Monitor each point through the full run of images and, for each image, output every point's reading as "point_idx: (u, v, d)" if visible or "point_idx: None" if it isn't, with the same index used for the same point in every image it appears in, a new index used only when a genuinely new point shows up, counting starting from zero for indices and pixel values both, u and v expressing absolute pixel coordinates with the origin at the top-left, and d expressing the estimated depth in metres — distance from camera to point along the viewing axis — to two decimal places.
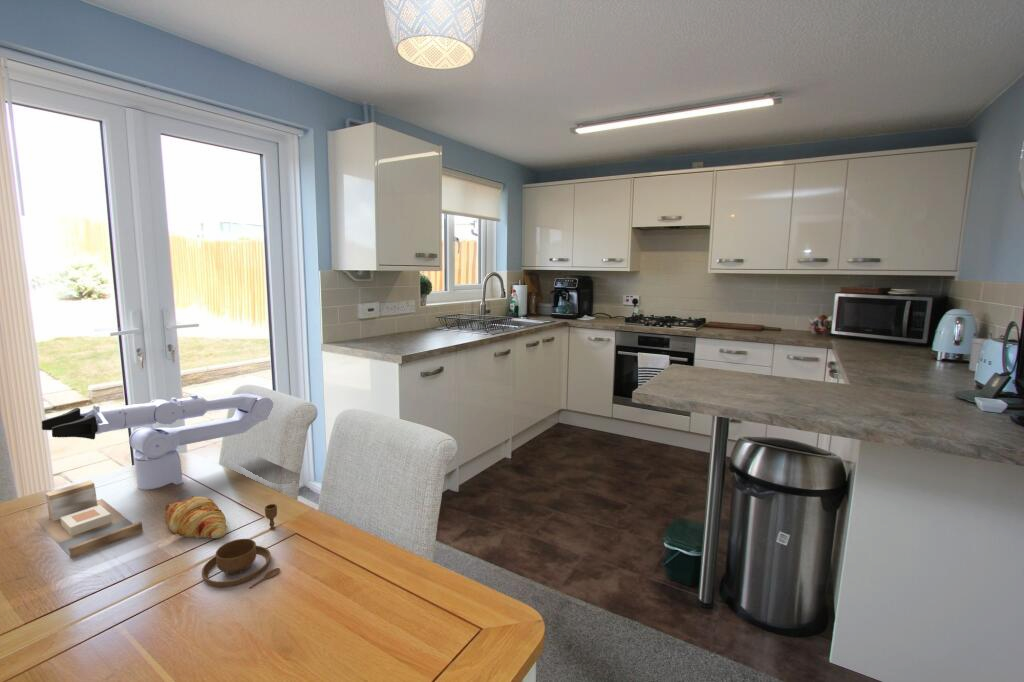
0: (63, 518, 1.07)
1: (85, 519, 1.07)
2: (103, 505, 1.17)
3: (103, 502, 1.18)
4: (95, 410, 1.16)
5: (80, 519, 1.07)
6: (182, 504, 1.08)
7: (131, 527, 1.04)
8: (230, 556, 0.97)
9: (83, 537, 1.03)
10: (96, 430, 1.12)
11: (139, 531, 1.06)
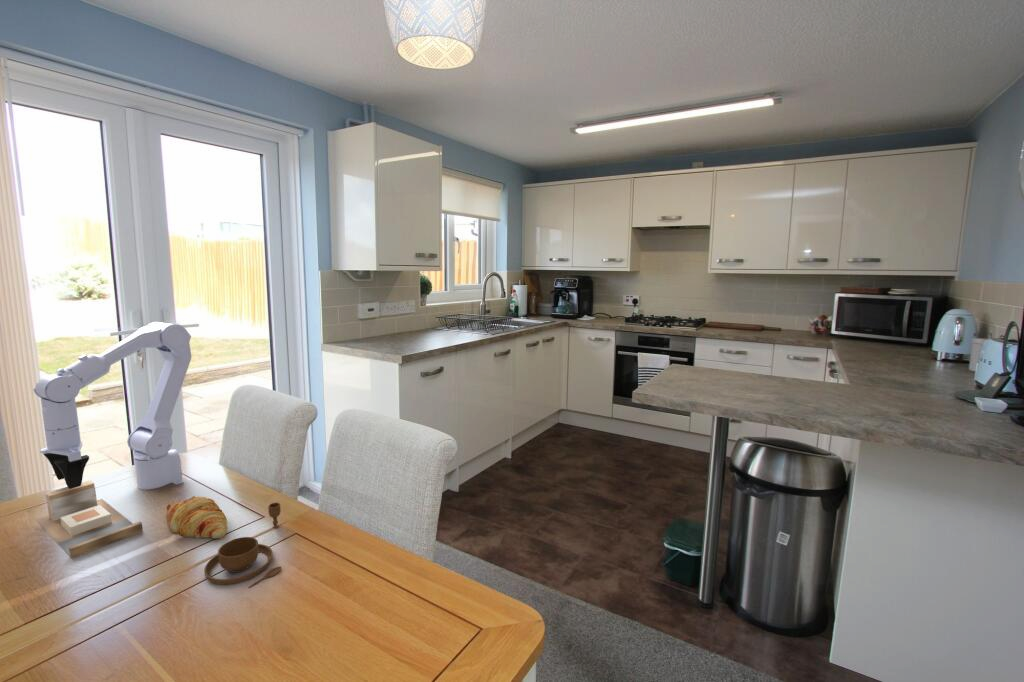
0: (63, 518, 1.07)
1: (85, 519, 1.07)
2: (103, 505, 1.17)
3: (103, 502, 1.18)
4: (48, 452, 1.08)
5: (80, 519, 1.07)
6: (183, 504, 1.08)
7: (131, 527, 1.04)
8: (233, 554, 0.98)
9: (83, 537, 1.03)
10: None
11: (139, 531, 1.06)
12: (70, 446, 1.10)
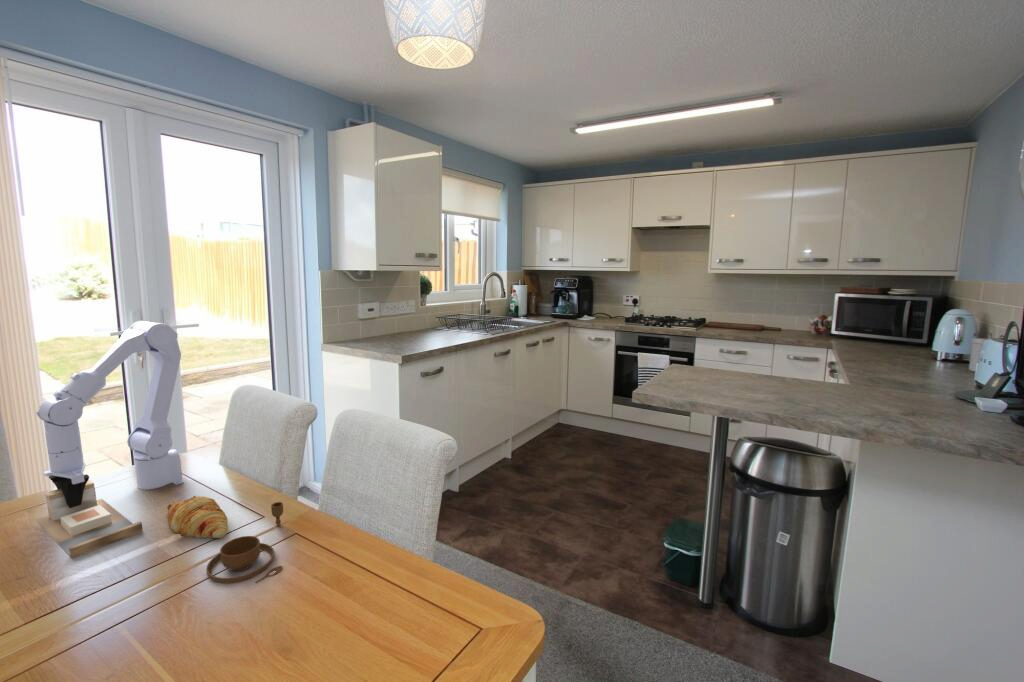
0: (63, 518, 1.07)
1: (85, 519, 1.07)
2: (103, 505, 1.17)
3: (103, 502, 1.18)
4: (51, 475, 1.09)
5: (80, 519, 1.07)
6: (184, 504, 1.08)
7: (131, 527, 1.04)
8: (235, 553, 0.99)
9: (83, 537, 1.03)
10: (80, 481, 1.09)
11: (139, 531, 1.06)
12: (73, 468, 1.10)
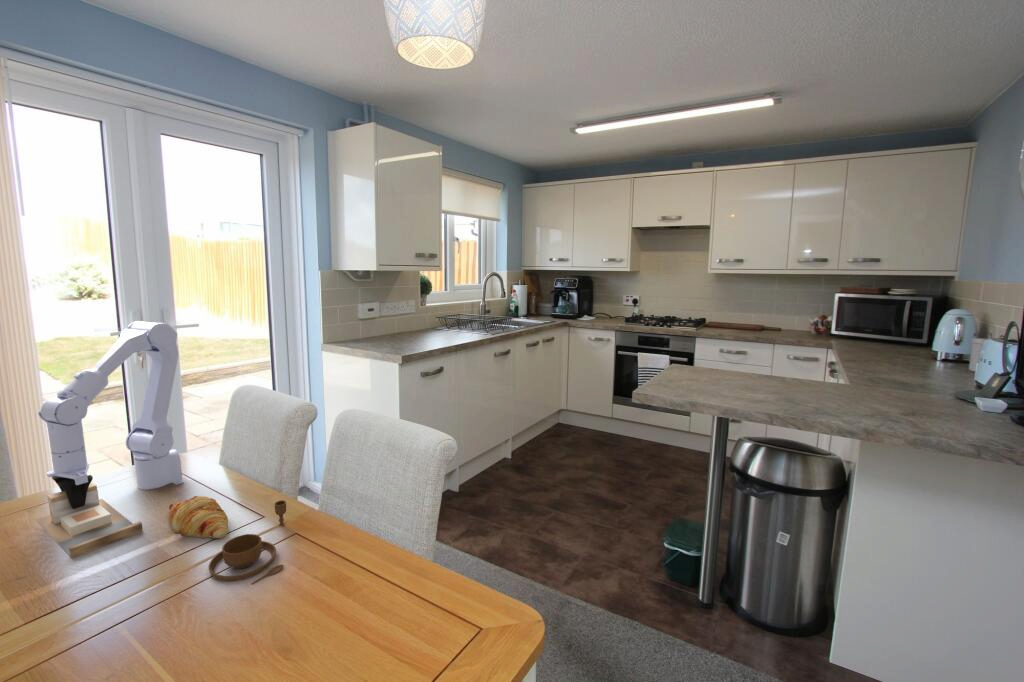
0: (63, 518, 1.07)
1: (85, 519, 1.07)
2: (103, 505, 1.17)
3: (103, 502, 1.18)
4: (55, 475, 1.07)
5: (80, 519, 1.07)
6: (185, 504, 1.09)
7: (131, 527, 1.04)
8: (237, 551, 0.99)
9: (83, 537, 1.03)
10: None
11: (139, 531, 1.06)
12: (77, 469, 1.09)
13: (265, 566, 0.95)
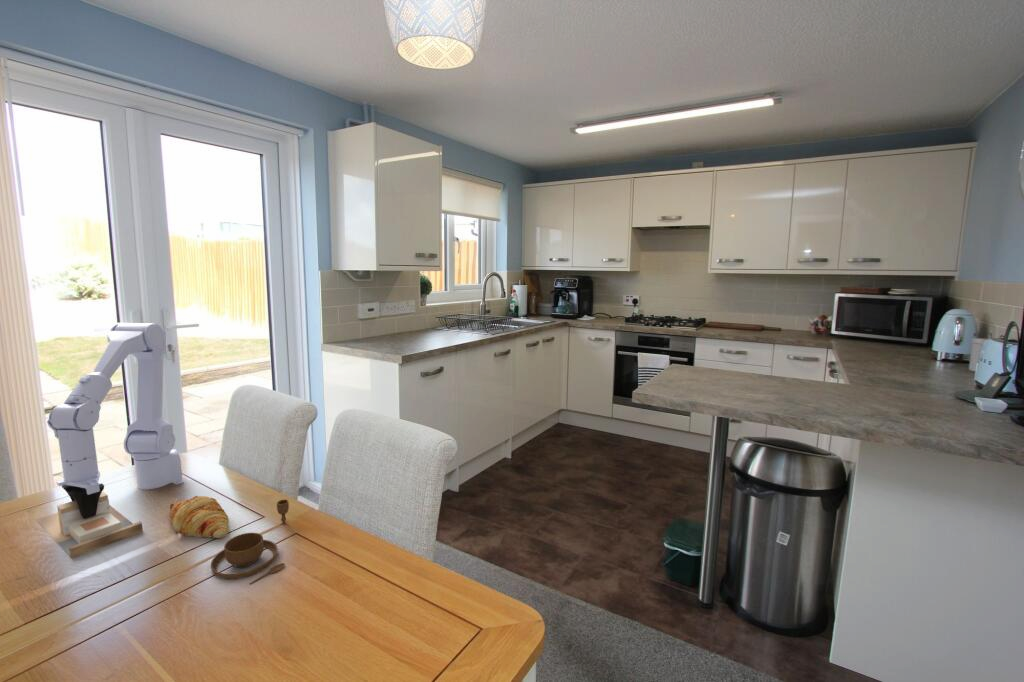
0: (71, 526, 1.04)
1: (94, 528, 1.03)
2: None
3: None
4: (65, 484, 1.03)
5: (89, 527, 1.04)
6: (185, 503, 1.09)
7: (131, 527, 1.04)
8: (239, 549, 1.00)
9: None
10: (95, 491, 1.04)
11: (139, 531, 1.06)
12: (88, 477, 1.05)
13: (266, 564, 0.96)
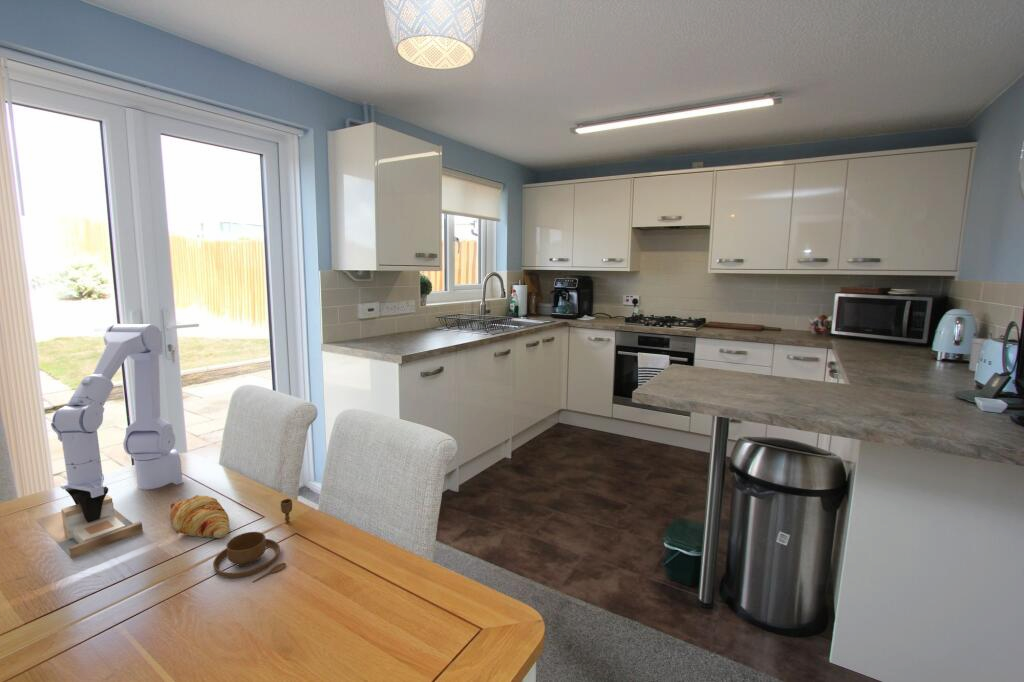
0: (76, 530, 1.02)
1: (99, 531, 1.02)
2: None
3: None
4: (69, 487, 1.02)
5: (93, 531, 1.02)
6: (186, 503, 1.09)
7: (131, 527, 1.04)
8: (242, 548, 1.00)
9: None
10: None
11: (139, 531, 1.06)
12: (92, 480, 1.04)
13: (268, 564, 0.96)
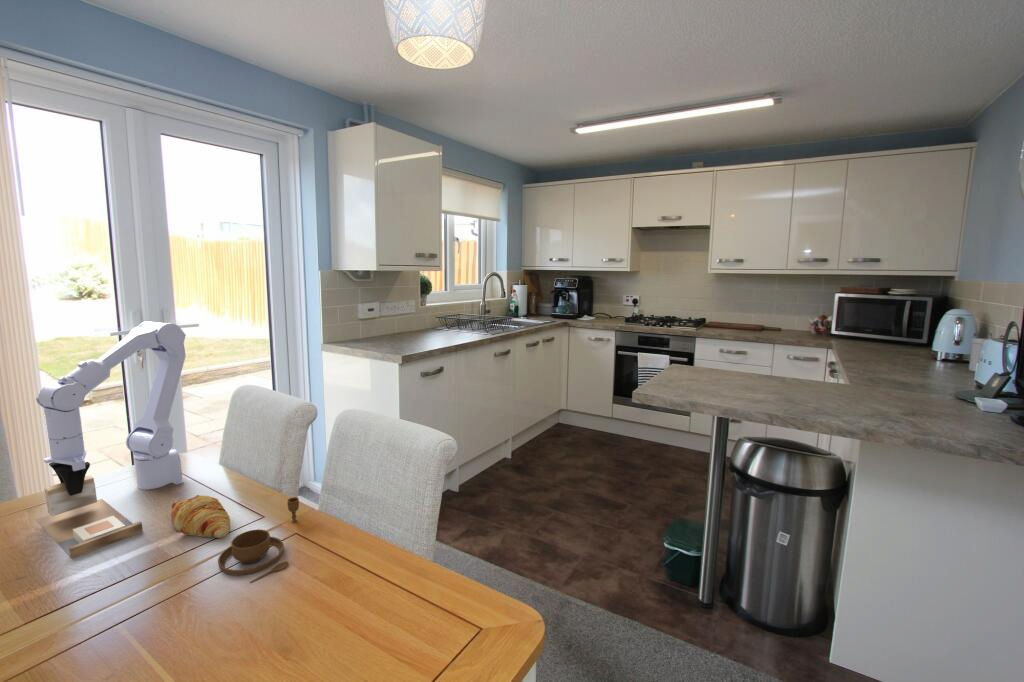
0: (76, 530, 1.02)
1: (99, 531, 1.02)
2: (103, 505, 1.17)
3: (103, 502, 1.18)
4: (52, 461, 1.07)
5: (93, 531, 1.02)
6: (187, 503, 1.09)
7: (131, 527, 1.04)
8: (247, 545, 1.01)
9: None
10: (81, 468, 1.07)
11: (139, 531, 1.06)
12: (74, 455, 1.09)
13: (271, 562, 0.96)
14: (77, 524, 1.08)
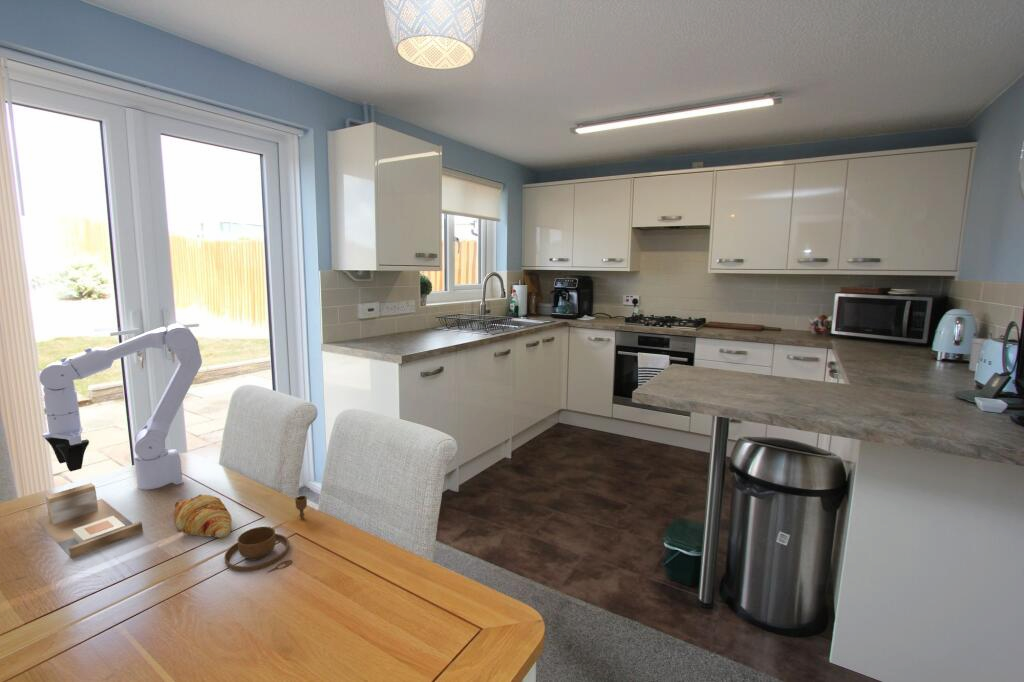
0: (76, 530, 1.02)
1: (99, 531, 1.02)
2: (103, 505, 1.17)
3: (103, 502, 1.18)
4: (50, 436, 1.13)
5: (93, 531, 1.02)
6: (189, 502, 1.09)
7: (131, 527, 1.04)
8: (254, 542, 1.02)
9: None
10: None
11: (139, 531, 1.06)
12: (71, 431, 1.15)
13: (275, 560, 0.97)
14: (77, 524, 1.08)
